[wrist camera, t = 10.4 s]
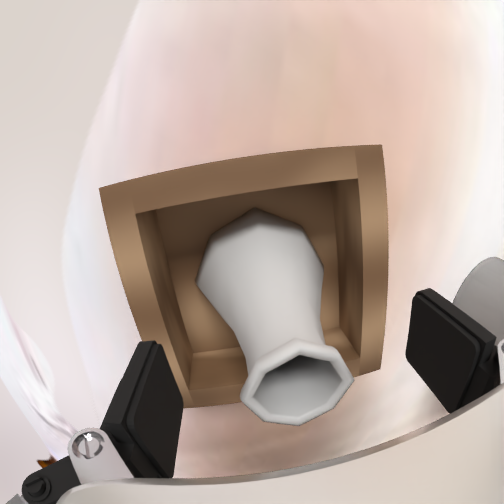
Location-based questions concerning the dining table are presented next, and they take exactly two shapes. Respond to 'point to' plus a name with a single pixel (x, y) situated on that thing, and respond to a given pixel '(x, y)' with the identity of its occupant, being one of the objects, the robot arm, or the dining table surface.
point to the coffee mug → (485, 296)
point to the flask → (274, 316)
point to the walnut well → (224, 212)
